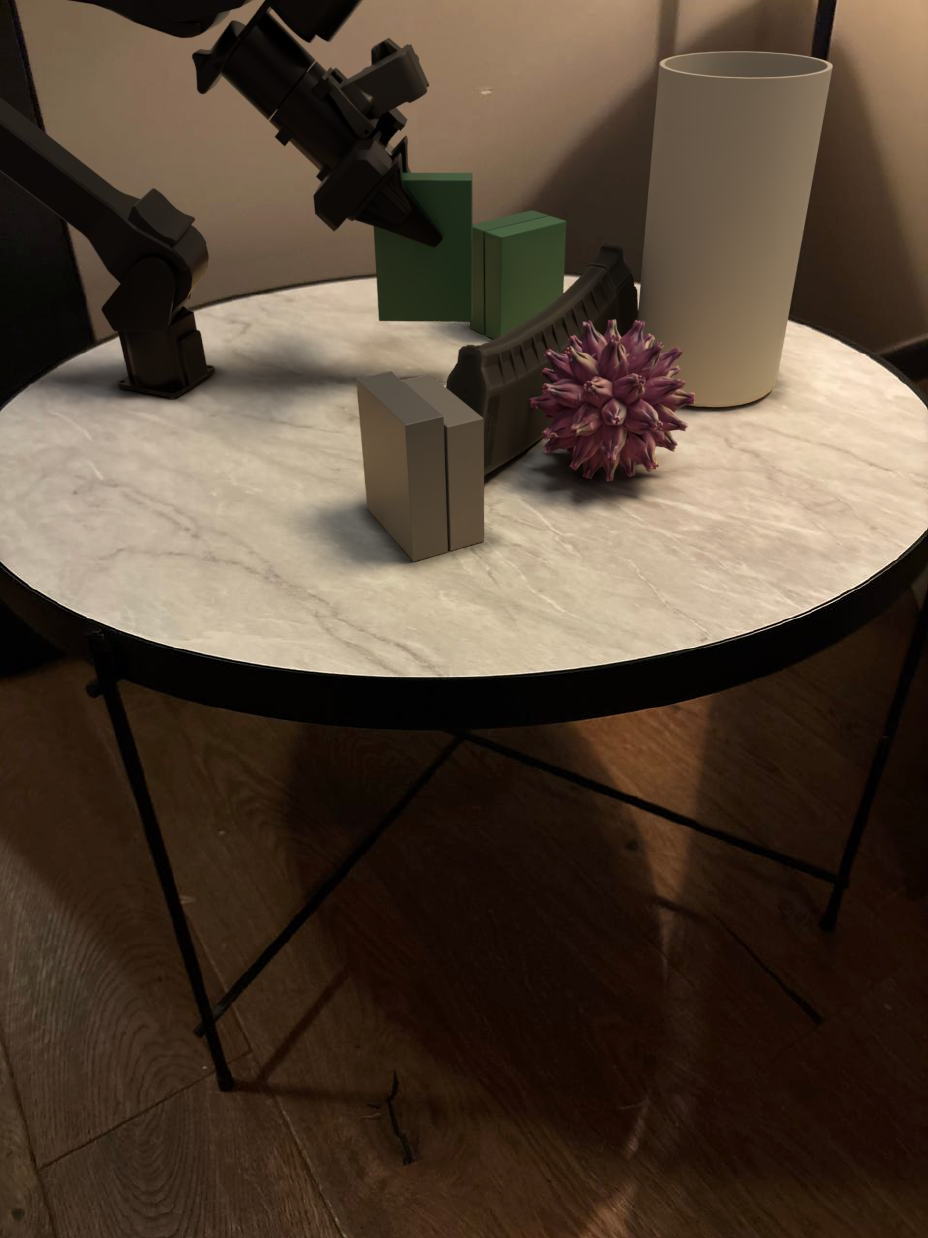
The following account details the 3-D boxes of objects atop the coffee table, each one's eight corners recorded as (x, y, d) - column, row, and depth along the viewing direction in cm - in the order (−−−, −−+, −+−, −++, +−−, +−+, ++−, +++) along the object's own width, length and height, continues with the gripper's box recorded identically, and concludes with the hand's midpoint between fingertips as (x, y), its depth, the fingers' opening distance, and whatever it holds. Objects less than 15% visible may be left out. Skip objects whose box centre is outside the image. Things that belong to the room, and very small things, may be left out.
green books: (500, 342, 98) (500, 236, 92) (469, 328, 102) (467, 224, 96) (562, 323, 102) (566, 220, 96) (530, 310, 105) (532, 209, 100)
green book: (378, 321, 87) (370, 179, 81) (381, 311, 89) (374, 172, 82) (471, 322, 87) (471, 179, 80) (472, 312, 89) (472, 172, 82)
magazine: (453, 399, 67) (635, 164, 81) (412, 389, 68) (597, 159, 83) (490, 569, 80) (641, 340, 95) (455, 558, 82) (609, 334, 96)
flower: (517, 469, 81) (643, 410, 84) (596, 534, 72) (734, 466, 75) (487, 335, 74) (625, 275, 76) (570, 389, 65) (724, 320, 67)
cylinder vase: (634, 408, 86) (663, 78, 71) (630, 351, 96) (656, 51, 81) (785, 413, 85) (847, 78, 70) (766, 355, 95) (817, 50, 80)
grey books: (366, 508, 74) (355, 378, 68) (434, 490, 76) (428, 362, 70) (413, 562, 68) (405, 425, 62) (484, 541, 70) (483, 406, 64)
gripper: (344, 19, 67) (510, 194, 73) (373, -10, 82) (509, 138, 88) (243, 149, 72) (406, 303, 78) (288, 100, 87) (422, 232, 93)
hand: (439, 237), depth 84 cm, fingers closed on green book, 2 cm apart
